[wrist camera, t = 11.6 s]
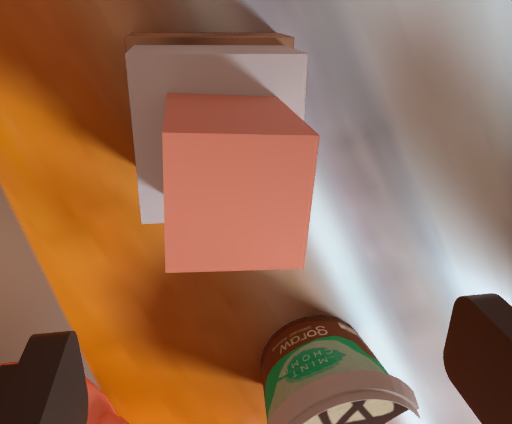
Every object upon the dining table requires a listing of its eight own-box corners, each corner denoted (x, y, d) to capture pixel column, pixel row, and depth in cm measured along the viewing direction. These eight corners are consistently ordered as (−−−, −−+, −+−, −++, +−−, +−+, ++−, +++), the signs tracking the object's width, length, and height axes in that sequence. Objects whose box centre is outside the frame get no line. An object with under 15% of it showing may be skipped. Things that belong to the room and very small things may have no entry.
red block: (277, 96, 21) (319, 135, 15) (269, 196, 23) (303, 268, 17) (166, 92, 20) (162, 132, 14) (168, 197, 22) (165, 273, 16)
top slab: (284, 44, 25) (307, 53, 21) (278, 181, 28) (298, 215, 24) (134, 44, 24) (124, 54, 19) (147, 187, 27) (141, 224, 23)
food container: (338, 277, 38) (389, 362, 29) (370, 323, 41) (427, 413, 32) (218, 355, 39) (231, 459, 30) (256, 394, 42) (279, 501, 33)
